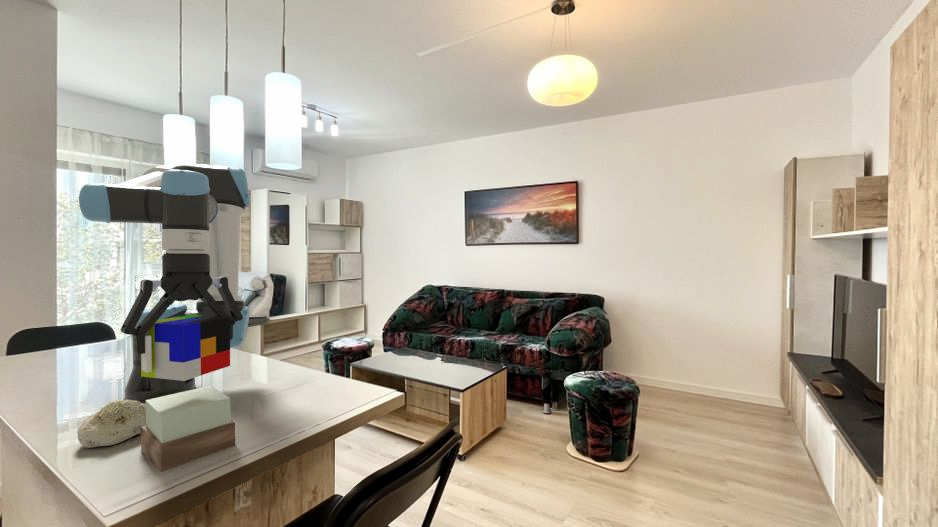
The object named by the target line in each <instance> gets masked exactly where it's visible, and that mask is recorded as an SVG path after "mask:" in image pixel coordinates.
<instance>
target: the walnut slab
mask: <svg viewBox="0 0 938 527" xmlns="http://www.w3.org/2000/svg"><path fill="white" fill-rule="evenodd" d="M234 446H236V422H235V421H233V419H231V418H230V423H228V424H225V425H222V426H218V427H215V428H212V429H208V430H205V431H202V432H198V433H195V434H192V435H188V436H185V437H182V438H178V439H175V440H172V441H168V442H165V443H161V442H160V441H159V440H158V439H157V437H156V436H155V435H154V434H153V433H152V432H151V431H150V430H149V428H148V427H147V426H146V425H145V426H142V427H141V434H140V447H141V449H140V451H141V452H142V453H143V454H144V455H145V456H146V457H147V458H148V459H149V460H150V461H151V462H152V463H153V464H154V466H156V467H157V468H158V470H159V471H160V472H165V471H167V470H170V469H173V468H176V467H179V466H182V465H185V464H187V463H190V462H192V461H196V460H198V459H201V458H203V457H206V456H209V455H212V454H214V453H215V454H216V453H218V452H221V451H223V450H226V449H229V448H232V447H234Z"/></svg>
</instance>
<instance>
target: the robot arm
mask: <svg viewBox="0 0 938 527" xmlns="http://www.w3.org/2000/svg"><path fill="white" fill-rule="evenodd" d="M249 190H250V189H249V184H248V178H247V175H246V172H245V170H244V169H242V168H240V167H233V166H228V165H226V166H225V165H212V164H211V165H210V164H198V163H188V162H187V163H186V162H180V163H178V162H177V163H171V164H165V165H161V166H160V165H159V166H154V167H151V168H149V169H148V170H146V171H145V172H144V173H143V174H142V175H141V176H137V177H135V178H132V179H128V180H126V181H122V182H120V183H116V184H113V183H112V184H108V183H107V184H106V183H104V182H101V183H86V184H84V185H83V186H82V187H81V189H80V191H79V193H78V194H79V195H78V205H79V210H80V212H81V214H82V216H83V217H84V218H85V219H86V220H88V221H91V222H99V223H100V222H101V223H102V222H103V223H106V224H110V223H122V224H123V223H124V224H125V223H127V224H128V223H130V224H156V225H158V224H160V225H161V250H163V251H165V253H163V254H162V255H161V266H162V267H161V271H162V272H161V274H162V276H161V277H160V279H159V280H153V279H152V280H151V279H146V278H145V279H142V280H140V286H139V287H140V288H139V293H138V294H137V297H136V298H135V301H134V302H133V304H132V306H131V308H130V310H129V312H128V314H127V316H126V318H125V320H124V322H123V323H122V325H121V328H120V332H121V333H123V334H125V335H127V336H128V335H130V336H132V368H131V373H130V375H129V377H128V379H127V383H126V385H125V387H124V400H133V401H135V400H136V401H139V402H140V403H143V402H145V403H146V400H149V399H153V398H158V397H162V396H167V395H171V394H176V393H180V392H184V391H189V390H193V389H196V377H195V378H192V379H189V380H186V381H179V380H170V379H160V378H150V377H141V354H142V370H143V371H144V372H146V373H148V372H152V355H151V336H150V335H148V334H146V333H147V332H148V331H149V330H150V328H151V327H152V326H153V325H154V324H155V323H156V321H157V320H161V319H168V318H174V317H180V316H186V315H203V316H220V317H230V349H232V348H233V349H234V348H239V347H241V346H242V345H243V344H244V342H245V340H246V337H247V333H248V328H249V321H250V311H251V310H250V307H249V306H246V305H245V301H244V299H243V298H241V296H239V257H240V256H239V251H240V249H239V247H240V246H239V245H240V244H239V243H240V242H239V240H240V238H239V237H240V235H239V233H240V218H241V216H243V214H245V212H246V211H245V210H246V208H248V207H251V197H250V191H249ZM159 287H160V288H161V289H162V290H163V291H164V292H165V293H164V294H162V296H161V297H160V298H159V300H158V302H157V303H156V304H155V305H154V307H151V308H146V307H147V305H148V302H149V301H150V299H151V297H152V294H153V292H156V291H157V289H158V288H159ZM175 301H176V302H186V301H196V304H195V305H196V306H195V307H196V308H191V309H190V308H189V307H188V306H187V304H186V303H179V304H178V303H176V304H174V302H175Z"/></svg>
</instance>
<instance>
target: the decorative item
mask: <svg viewBox="0 0 938 527" xmlns="http://www.w3.org/2000/svg"><path fill="white" fill-rule="evenodd" d="M145 425H146V403H143V402H139V401H136V400H135V401H133V400H126V399H121V400H115V401H111V402H109V403H108V404H106V405H104V406H103V407H101V409H100V410H99V411H98V412H96V413H95V414H93V415H90V416H88V417H87V418H86V419H85V420H84V421H83V422H82V424H81V425H80V426H79V427H78V428H77V431H76V432H77V433H76V434H77V440H78V442H79V443H80V445H82V446H83V447H84V448H87V449H88V448H89V449H91V448H92V449H93V448H99V447H107V446H113V445H118V444H120V443H122V442H124V441H126V440H128V439H131V438H132V437H134V436H136V435H141V427H142V426H145Z"/></svg>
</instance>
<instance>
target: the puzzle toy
mask: <svg viewBox="0 0 938 527" xmlns="http://www.w3.org/2000/svg"><path fill="white" fill-rule="evenodd" d="M146 334H148V335H150V336H151V355H152V372H148V373H146V372H144V371H143V370H142V354H141V377H150V378H160V379H170V380H179V381H186V380H189V379H192V378H195V379H196V378H198V377H200V376H203V375H207V374H210V373H212V372H216V371H218V370H221V369H224V368H228V367H231V348H230V317H220V316H203V315H186V316H180V317H174V318H168V319H161V320H157V321H156V323H155V324H154V325H153V326H152V327H151V328H150V330H149V331H148V332H147V333H146Z"/></svg>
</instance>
